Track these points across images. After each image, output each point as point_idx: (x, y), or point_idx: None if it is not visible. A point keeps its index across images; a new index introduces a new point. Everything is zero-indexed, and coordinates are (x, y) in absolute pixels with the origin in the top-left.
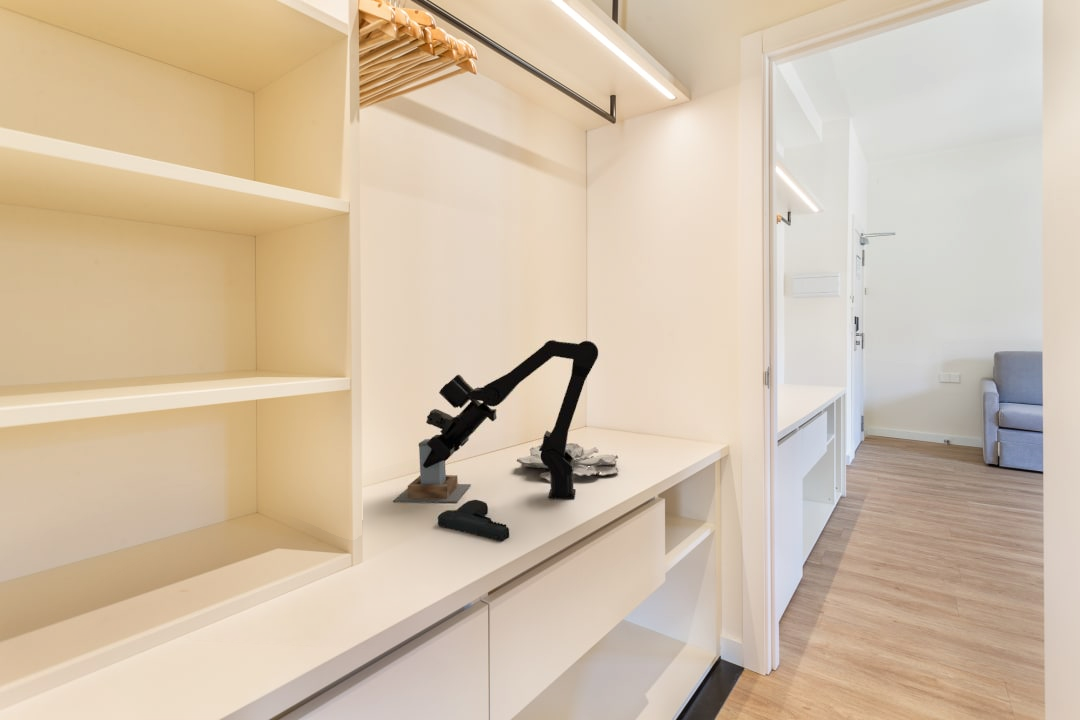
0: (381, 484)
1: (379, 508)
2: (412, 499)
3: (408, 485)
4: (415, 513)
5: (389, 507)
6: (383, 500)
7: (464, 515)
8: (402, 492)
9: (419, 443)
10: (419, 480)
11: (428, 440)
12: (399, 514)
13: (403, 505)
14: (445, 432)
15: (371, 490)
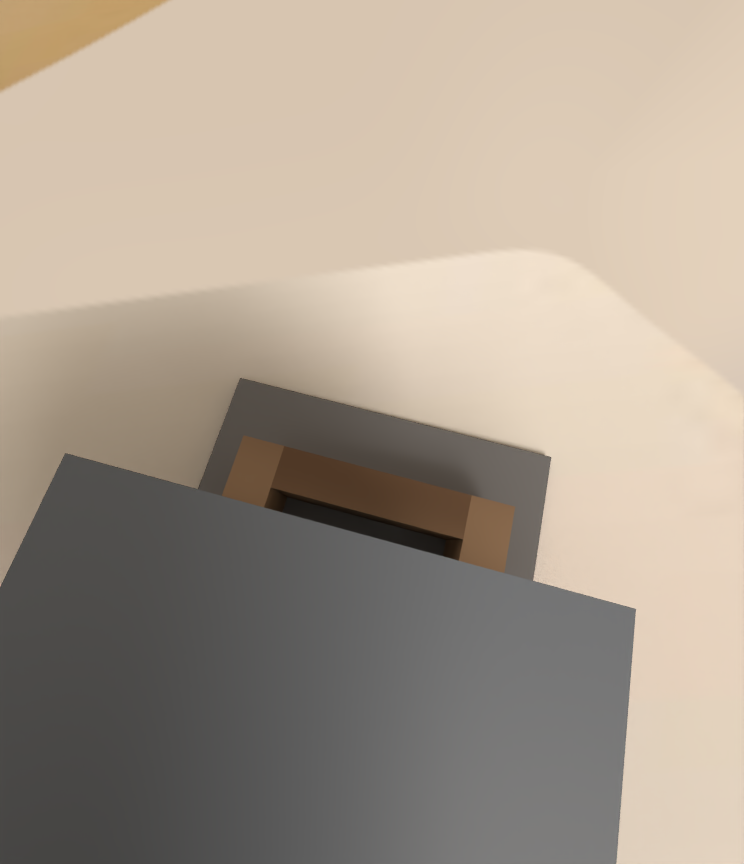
0: (579, 287)
1: (163, 329)
2: (222, 482)
3: (252, 440)
4: (4, 519)
5: (161, 374)
6: (288, 332)
7: None
8: (374, 412)
9: (61, 480)
10: (362, 509)
11: (403, 741)
12: (26, 435)
13: (168, 441)
14: None
15: (475, 255)
